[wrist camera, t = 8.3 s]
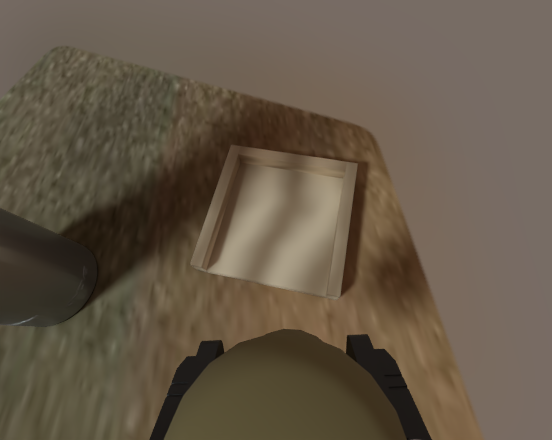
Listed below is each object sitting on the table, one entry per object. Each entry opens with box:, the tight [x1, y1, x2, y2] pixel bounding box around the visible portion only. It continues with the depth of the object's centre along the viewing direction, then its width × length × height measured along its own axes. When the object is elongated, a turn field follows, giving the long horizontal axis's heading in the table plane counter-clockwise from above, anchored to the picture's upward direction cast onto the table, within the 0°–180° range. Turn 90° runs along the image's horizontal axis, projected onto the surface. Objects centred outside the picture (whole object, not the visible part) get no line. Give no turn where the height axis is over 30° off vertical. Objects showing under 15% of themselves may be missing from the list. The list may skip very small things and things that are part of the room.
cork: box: [164, 329, 407, 440], centre depth 9 cm, size 6×6×11 cm
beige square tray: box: [190, 145, 358, 300], centre depth 31 cm, size 15×15×2 cm
